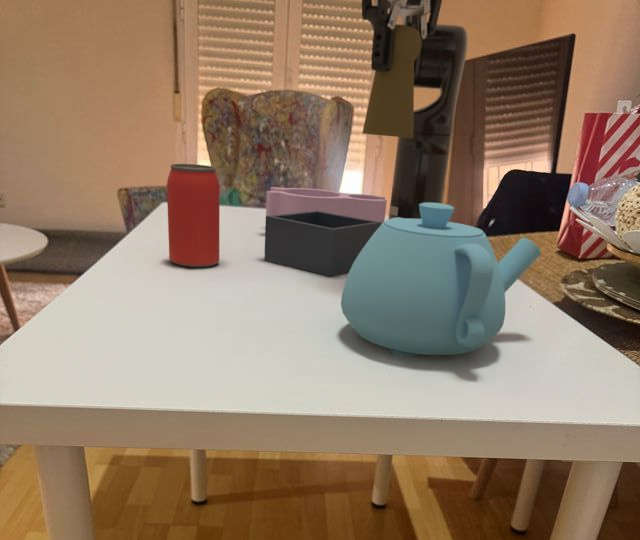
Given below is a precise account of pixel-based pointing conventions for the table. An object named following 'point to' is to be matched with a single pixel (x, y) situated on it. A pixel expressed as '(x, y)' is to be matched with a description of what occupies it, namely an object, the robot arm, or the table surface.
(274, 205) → the pink elongated piece
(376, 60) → the robot arm
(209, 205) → the beer can
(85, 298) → the table surface
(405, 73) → the cork
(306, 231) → the caddy
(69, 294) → the table surface
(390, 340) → the teapot
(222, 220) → the table surface
